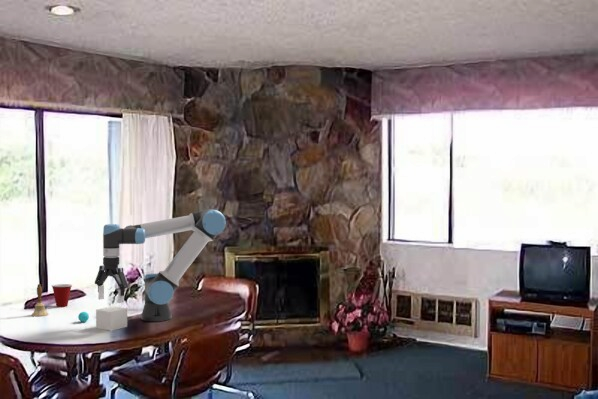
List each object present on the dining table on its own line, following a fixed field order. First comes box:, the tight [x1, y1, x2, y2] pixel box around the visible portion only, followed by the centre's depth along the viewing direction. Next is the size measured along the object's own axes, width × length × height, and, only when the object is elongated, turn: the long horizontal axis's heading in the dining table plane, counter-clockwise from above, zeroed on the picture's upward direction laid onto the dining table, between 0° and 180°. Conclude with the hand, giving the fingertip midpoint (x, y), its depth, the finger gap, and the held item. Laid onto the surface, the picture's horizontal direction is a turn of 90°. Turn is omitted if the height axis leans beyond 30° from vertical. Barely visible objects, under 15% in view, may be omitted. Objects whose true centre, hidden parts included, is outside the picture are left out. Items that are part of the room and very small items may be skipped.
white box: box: [95, 305, 128, 332], centre depth 334 cm, size 10×10×9 cm
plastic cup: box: [51, 283, 73, 308], centre depth 382 cm, size 11×11×12 cm
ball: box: [77, 311, 90, 323], centre depth 345 cm, size 5×5×5 cm
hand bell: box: [31, 283, 49, 318], centre depth 360 cm, size 8×8×16 cm
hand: (110, 300), depth 333 cm, fingers open, 13 cm apart
